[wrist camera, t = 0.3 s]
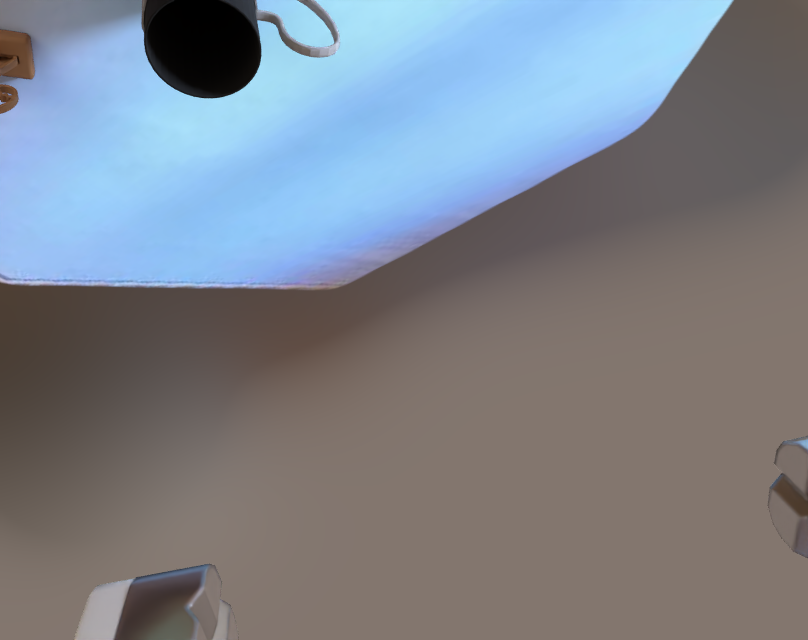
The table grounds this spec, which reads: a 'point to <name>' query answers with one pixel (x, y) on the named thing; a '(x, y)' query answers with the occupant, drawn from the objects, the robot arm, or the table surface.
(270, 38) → the table surface
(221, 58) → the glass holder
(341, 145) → the table surface
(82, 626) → the robot arm
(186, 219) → the table surface
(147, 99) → the table surface
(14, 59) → the boxer figurine
